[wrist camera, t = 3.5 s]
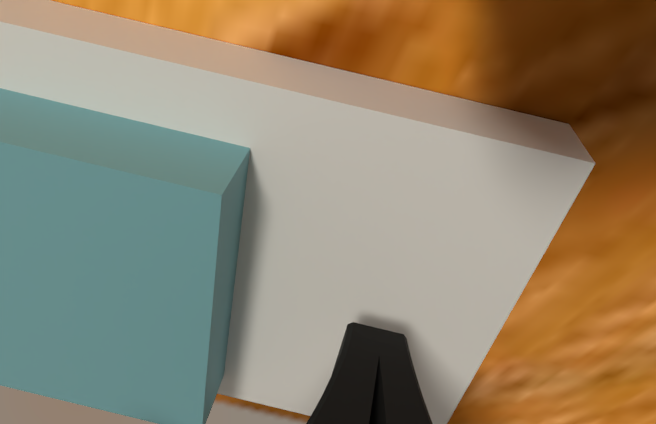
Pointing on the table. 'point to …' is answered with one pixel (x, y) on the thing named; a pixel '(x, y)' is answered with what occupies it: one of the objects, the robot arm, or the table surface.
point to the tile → (116, 259)
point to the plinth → (329, 193)
